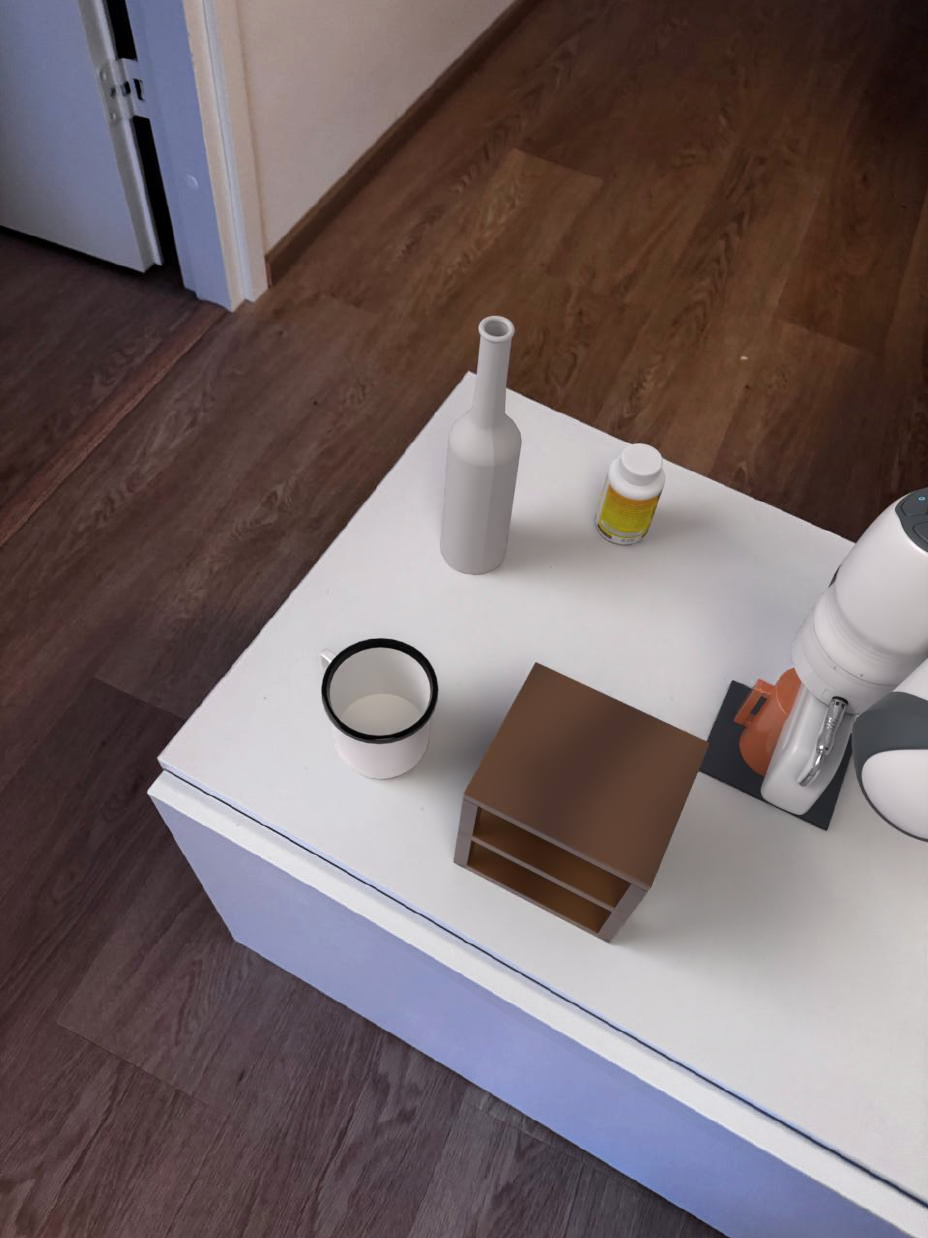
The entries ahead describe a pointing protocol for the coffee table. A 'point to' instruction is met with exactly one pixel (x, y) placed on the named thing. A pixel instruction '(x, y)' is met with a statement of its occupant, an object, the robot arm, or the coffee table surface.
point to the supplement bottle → (630, 494)
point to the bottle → (482, 462)
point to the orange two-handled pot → (766, 719)
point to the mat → (735, 772)
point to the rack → (576, 801)
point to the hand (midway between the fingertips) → (793, 733)
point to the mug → (379, 705)
